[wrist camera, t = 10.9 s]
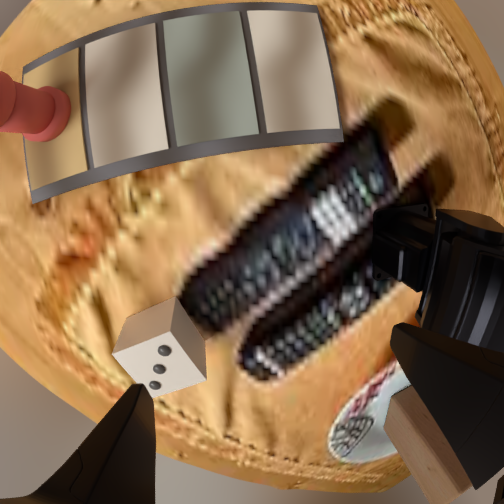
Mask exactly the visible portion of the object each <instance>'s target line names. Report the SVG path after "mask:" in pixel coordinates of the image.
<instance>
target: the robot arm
mask: <svg viewBox="0 0 504 504" xmlns="http://www.w3.org/2000/svg"><path fill="white" fill-rule="evenodd" d="M423 207H424V209H423ZM379 214H380V217H379V218H378V215H379ZM435 216H436V220H434V219H431V218H428V206H427V204H424V203H419V204H411V205H404V206H397V207H391V208H384V209H377V210H376V211H375V212H374V214H373V248H372V263H373V272H372V276H373V278H374V279H375V280H377V281H379V280H383V279H386V278H390V277H393V278H394V279H395V280H397V281H398V282H403V283H404V284H406V285H407V286H408V287H410V288H411V289H413V290H414V291H415V292H420V291H422V296H421V300H420V304H419V308H418V310H417V311H416V314H415V318H416V320H417V321H418V323H419V325H420V327H421V328H419V327H416V326H413V325H410V324H407V323H404V322H402V323H399V324H396V325H394V327H393V329H392V334H391V340H390V346H391V349H392V351H393V353H394V354H395V356H396V358H397V360H398V362H399V364H400V366H401V368H402V369H403V371H404V373H405V375H406V377H407V378H408V380H409V382H410V383H411V385H412V386H413V388H414V389H415V391H416V392H417V394H418V395H419V397H420V398H421V400H422V401H423V403H424V404H425V406H426V407H427V409H428V410H429V412H430V414H431V415H432V417H433V418H434V420H435V422H436V423H437V425H438V426H439V428H440V430H441V431H442V433H443V434H444V436H445V438H446V439H447V441H448V443H449V444H450V446H451V448H452V449H453V451H454V453H456V454H455V455H456V457H457V458H458V460H459V462H460V463H461V465H462V467H463V469H464V471H465V472H466V474H467V476H468V478H469V480H470V481H471V483H472V485H473V487H474V489H475V490H477V489H478V488H479V487H481V486H482V485H483V484H485V483H486V482H487V481H488V480H489V479H490V478H492V477H493V476H494V475H495V474H496V473H497V472H499V471H500V470H501V469H502V468H503V467H504V227H503V226H502V225H500V224H499V223H498V222H497V221H495V220H494V219H493V218H492V217H489V216H486V215H483V214H479V213H475V212H472V211H465V210H449V209H436V215H435ZM377 274H379V275H378V276H377ZM155 459H156V432H155V417H154V402H153V399H152V397H151V395H150V393H149V392H148V390H147V388H146V386H145V385H144V384H143V383H138V384H132V385H131V386H130V387H129V388H128V389H127V391H126V392H125V393H124V394H123V395H122V396H121V398H120V399H119V400H118V401H117V402H116V403H115V405H114V406H113V407H112V408H111V409H110V410H109V412H108V413H107V414H106V415H105V416H104V418H103V419H102V420H101V421H100V422H99V423H98V425H97V426H96V427H95V428H94V429H93V430H92V432H91V433H90V434H89V435H88V436H87V438H86V439H85V440H84V441H83V442H82V443H81V445H80V446H79V447H78V449H76V451H75V452H74V453H73V454H72V455H71V456H70V457H69V459H68V460H67V461H66V462H65V463H64V464H63V465H62V466H61V467H60V468H59V469H58V470H57V471H56V472H55V473H54V474H53V475H52V476H51V477H50V478H49V479H48V480H47V481H46V482H44V483H43V484H42V485H41V486H40V487H39V488H38V489H37V490H36V491H34V492H33V493H31V494H29V495H27V496H24V497H16V498H6V499H0V504H155ZM493 504H504V475H503V476H502V477H501V478H500V479H499V480H498V483H497V488H496V493H495V497H494V502H493Z"/></svg>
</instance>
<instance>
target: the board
mask: <svg viewBox="0 0 504 504" xmlns="http://www.w3.org/2000/svg"><path fill="white" fill-rule="evenodd" d="M22 84H24V85H27V86H30V87H33V88H36V89H39V88H41V87H44V86H52V87H54V88H56V89H59V90H61V91H63V92H65V93H66V94H67V95H68V97H69V99H70V102H71V114H70V118H69V121H68V123H67V125H66V127H65V129H64V130H63V131H62V133H61V134H60V135H59V136H58V137H56V138H55V139H53V140H51V141H48V142H37V141H29V140H27V139H26V138H25V137H24V136H23V142H24V152H25V160H26V168H27V175H28V181H29V187H30V192H31V197H32V202H33V204H34V203H37V202H40V201H43V200H45V199H48V198H51V197H54V196H56V195H59V194H62V193H65V192H68V191H71V190H74V189H77V188H80V187H83V186H87V185H90V184H93V183H96V182H100V181H103V180H107V179H110V178H114V177H117V176H121V175H125V174H129V173H133V172H137V171H141V170H145V169H149V168H153V167H158V166H162V165H167V164H171V163H176V162H181V161H186V160H191V159H196V158H202V157H207V156H213V155H219V154H226V153H232V152H239V151H246V150H254V149H262V148H270V147H279V146H290V145H301V144H314V143H331V142H344V139H343V131H342V123H341V116H340V110H339V103H338V97H337V91H336V85H335V80H334V75H333V70H332V65H331V60H330V55H329V51H328V46H327V42H326V38H325V34H324V30H323V26H322V22H321V18H320V15H319V11H318V8H317V6H316V5H306V4H294V3H274V2H248V3H227V4H215V5H206V6H198V7H191V8H184V9H178V10H173V11H168V12H163V13H158V14H154V15H150V16H145V17H142V18H138V19H134V20H131V21H127V22H124V23H121V24H117V25H114V26H111V27H108V28H105V29H103V30H100V31H97V32H94V33H92V34H89V35H87V36H84V37H82V38H79V39H77V40H75V41H72V42H70V43H68V44H66V45H64V46H61V47H59V48H57V49H55V50H53V51H51V52H49V53H47V54H45V55H43V56H42V57H40V58H38V59H36V60H34V61H33V62H31V63H29V64H27V65H26V66H24V67H23V75H22Z"/></svg>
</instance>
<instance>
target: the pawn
mask: <svg viewBox="0 0 504 504" xmlns="http://www.w3.org/2000/svg"><path fill="white" fill-rule="evenodd" d="M70 114H71V102H70V99H69V97H68V95H67V94H66V93H65V92H63V91H61V90H59V89H56V88H54V87H52V86H44V87H41V88H39V89H36V88H33V87H30V86H27V85H24V84H21V83H18V82H15V81H13V80H12V78H11V77H10V76H9V75H8V74H6V73H4V72H2V71H0V132H13V133H22V135H23V136H24V137H25V138H26V139H27V140H29V141H37V142H48V141H51V140H53V139H55V138H56V137H58V136H59V135H60V134H61V133H62V131H63V130H64V129H65V127H66V125H67V123H68V121H69V118H70Z"/></svg>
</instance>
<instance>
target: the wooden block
mask: <svg viewBox="0 0 504 504" xmlns="http://www.w3.org/2000/svg"><path fill="white" fill-rule="evenodd" d="M384 430H385V432H386V434H387V435H388V437H389V438H390V440H391V442H392V443H393V445H394V446H395V448H396V449H397V451H398V453H399V454H400V456H401V457H402V459H403V461H404V462H405V464H406V466H407V467H408V469H409V470H410V472H411V474H412V475H413V477H414V478H415V480H416V481H417V483H418V485H419V487H420V488H421V490H422V491H423V493H424V495H425V496H426V498H427V500H428V501H429V503H430V504H449V503H450V502H452V501H453V500H455V499H456V498H458V497H459V496H460V495H461V494H463V493H464V492H465V491H467V490H468V489H469V488H470V487H472V486H473V485H472V483H471V481H470V480H469V478H468V476H467V474H466V472H465V471H464V469H463V467H462V465H461V463H460V462H459V460H458V458H457V457H456V455H455V454H456V453H454V451H453V449H452V448H451V446H450V444H449V443H448V441H447V439H446V438H445V436H444V434H443V433H442V431H441V430H440V428H439V426H438V425H437V423H436V422H435V420H434V418H433V417H432V415H431V414H430V412H429V410H428V409H427V407H426V406H425V404H424V403H423V401H422V400H421V398H420V397H419V395H418V394H417V392H416V391H415V389H414V388H413V386H412V385H411V386H410V387H408V388H406V389H404V390H403V391H401V392H399V393H397V394H395V395H393V396H392V397H391V399H390V404H389V408H388V412H387V416H386V420H385V424H384Z"/></svg>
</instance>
